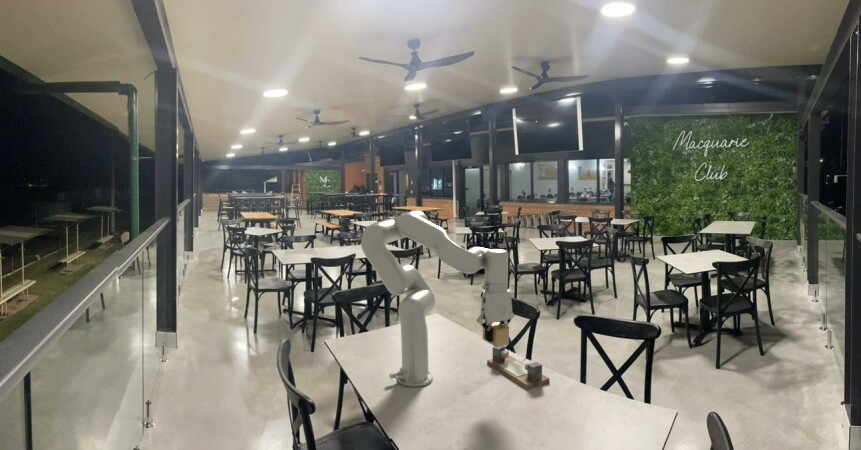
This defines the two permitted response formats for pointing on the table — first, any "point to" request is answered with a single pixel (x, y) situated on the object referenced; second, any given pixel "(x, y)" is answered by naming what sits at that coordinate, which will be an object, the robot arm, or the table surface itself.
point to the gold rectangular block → (498, 334)
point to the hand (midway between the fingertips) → (495, 338)
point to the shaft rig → (517, 369)
